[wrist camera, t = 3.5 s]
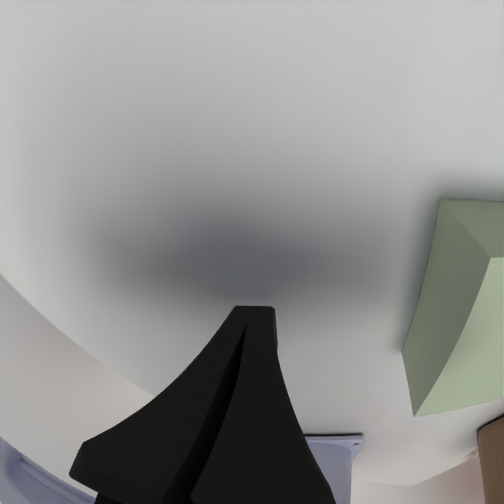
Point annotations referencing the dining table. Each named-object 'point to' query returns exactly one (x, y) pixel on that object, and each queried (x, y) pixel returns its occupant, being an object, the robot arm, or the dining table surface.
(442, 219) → the sage block
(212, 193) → the dining table surface
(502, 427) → the block
